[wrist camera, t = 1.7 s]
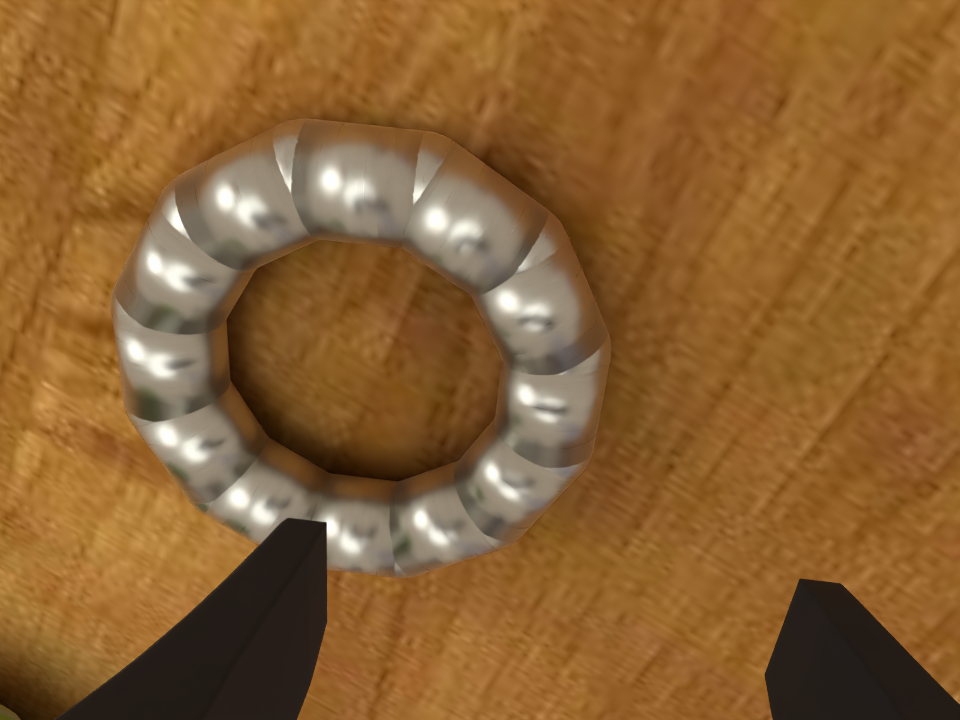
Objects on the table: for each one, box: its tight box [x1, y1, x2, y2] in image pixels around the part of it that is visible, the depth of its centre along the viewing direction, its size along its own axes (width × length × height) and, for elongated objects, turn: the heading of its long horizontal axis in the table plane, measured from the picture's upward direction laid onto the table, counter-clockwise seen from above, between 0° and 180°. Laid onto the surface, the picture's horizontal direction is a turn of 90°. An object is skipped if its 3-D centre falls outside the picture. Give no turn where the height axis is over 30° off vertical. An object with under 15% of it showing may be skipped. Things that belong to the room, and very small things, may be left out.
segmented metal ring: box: [111, 118, 611, 578], centre depth 18 cm, size 11×11×2 cm
